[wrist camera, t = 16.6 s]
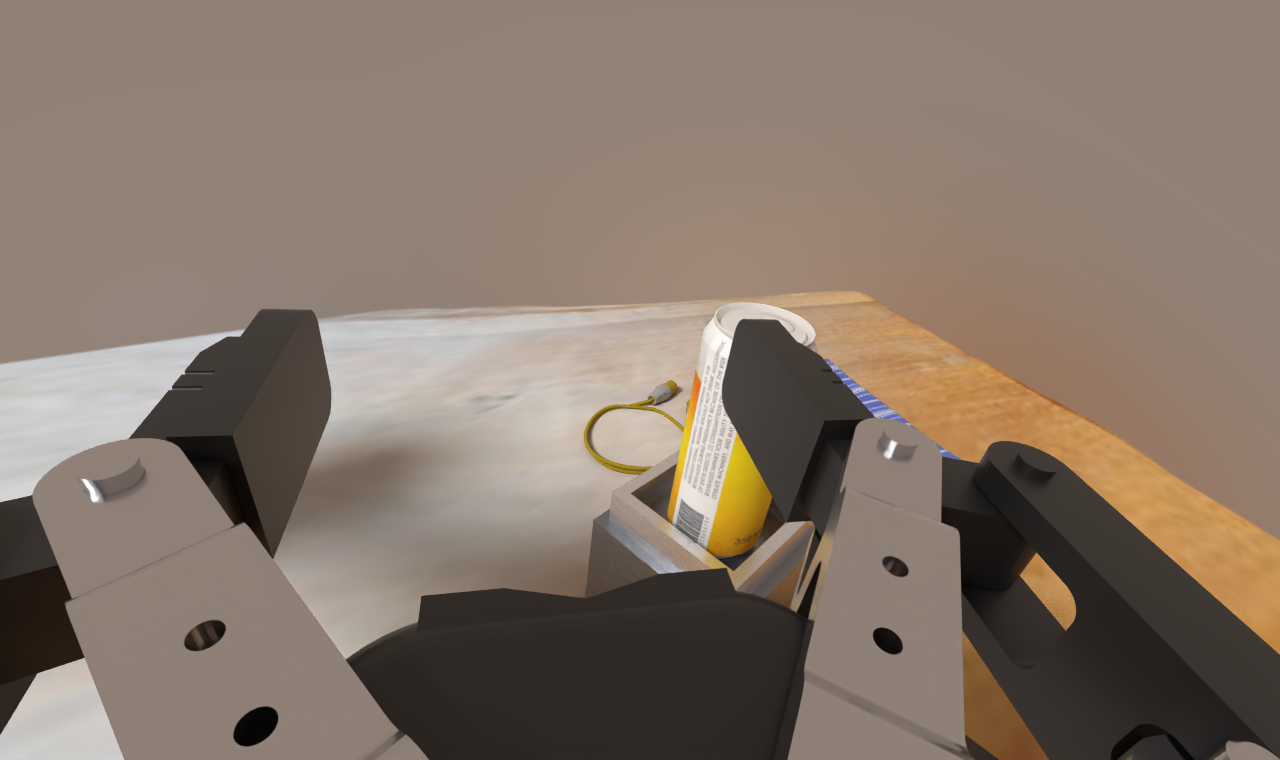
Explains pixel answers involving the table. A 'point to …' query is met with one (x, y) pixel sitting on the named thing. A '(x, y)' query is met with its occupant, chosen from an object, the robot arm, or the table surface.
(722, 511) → the beer can
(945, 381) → the table surface
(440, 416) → the table surface
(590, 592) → the grey hollow box
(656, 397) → the extension cord
